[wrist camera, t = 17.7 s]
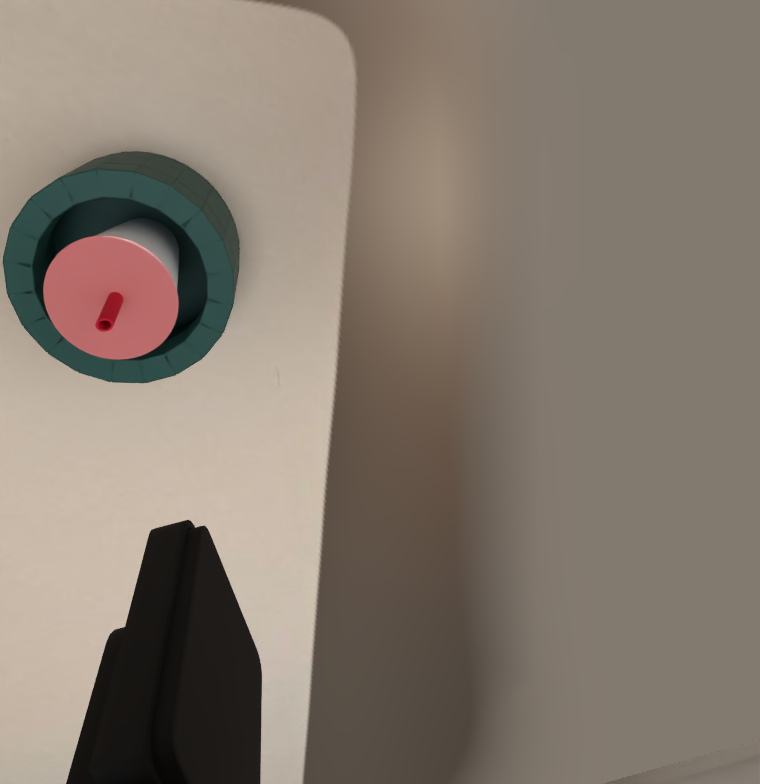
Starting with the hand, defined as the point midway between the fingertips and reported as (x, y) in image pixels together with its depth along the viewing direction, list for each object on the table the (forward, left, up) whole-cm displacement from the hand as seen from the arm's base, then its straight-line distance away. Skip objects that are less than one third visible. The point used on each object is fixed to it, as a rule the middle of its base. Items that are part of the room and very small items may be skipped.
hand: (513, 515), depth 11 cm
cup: (0, -11, -30) cm, 32 cm away
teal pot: (0, -11, -30) cm, 32 cm away
